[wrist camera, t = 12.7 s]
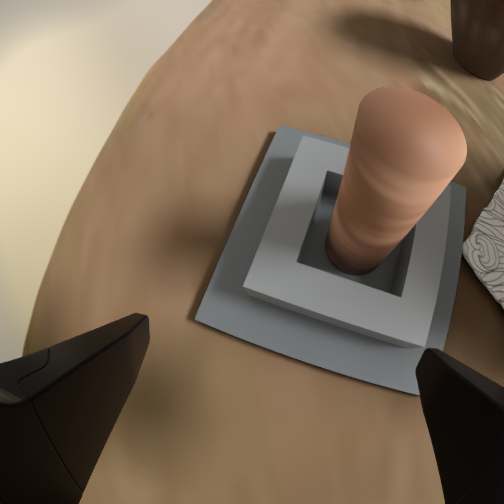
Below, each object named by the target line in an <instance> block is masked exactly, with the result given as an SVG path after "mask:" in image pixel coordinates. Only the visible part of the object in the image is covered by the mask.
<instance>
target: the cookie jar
mask: <svg viewBox="0 0 504 504" xmlns="http://www.w3.org/2000/svg"><path fill="white" fill-rule="evenodd" d="M462 254H463V256H464V258H465V259H466V261H467V262H468V264H469V265H470V266H471V268H472V269H473V271H474V272H475V274H476V276H477V277H478V278H479V280H480V281H481V282H482V283H483V284H484V285H485V287H486V288H487V289H488V290H489V292H490V293H491V294H492V295H493V297H494V298H495V300H496V301H497V302H499V303H500V304H501V306H502V307H503V309H504V179H503V181H502V183H501V185H500V187H499V189H498V190H497V191H496V192H495V193H494V196H493V199H492V200H491V202H490V204H489V205H488V207H485V208H483V210H482V213H481V215H480V216H479V217H478V218H477V219H476V222H475V223H474V226H473V229H472V231H471V234H470V235H469V237H468V239H467V240H466V241H465V242H464V243H463V247H462Z"/></svg>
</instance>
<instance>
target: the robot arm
mask: <svg viewBox="0 0 504 504" xmlns="http://www.w3.org/2000/svg"><path fill="white" fill-rule="evenodd" d="M149 340H150V334H149V318H148V316H147V315H144V314H139V313H134V314H131V315H129V316H126V317H124V318H121V319H119V320H116V321H114V322H111V323H109V324H106V325H104V326H101V327H99V328H96V329H94V330H91V331H89V332H86V333H84V334H81V335H79V336H76V337H74V338H71V339H69V340H66V341H63V342H61V343H58V344H56V345H53V346H51V347H50V348H45V349H43V350H40V351H38V352H35V353H32V354H30V355H27V356H24V357H21V358H17V359H14V360H11V361H8V362H4V363H0V504H79V502H80V500H81V497H82V495H83V492H84V490H85V488H86V485H87V483H88V481H89V479H90V476H91V474H92V472H93V470H94V468H95V465H96V463H97V461H98V459H99V457H100V454H101V452H102V450H103V448H104V446H105V444H106V442H107V439H108V437H109V435H110V433H111V431H112V429H113V427H114V425H115V423H116V421H117V418H118V416H119V414H120V412H121V410H122V408H123V406H124V404H125V402H126V400H127V398H128V396H129V394H130V392H131V390H132V388H133V386H134V384H135V381H136V379H137V376H138V373H139V370H140V367H141V364H142V362H143V359H144V356H145V353H146V351H147V348H148V345H149ZM415 374H416V379H417V384H418V389H419V394H420V399H421V404H422V409H423V413H424V416H425V420H426V423H427V427H428V430H429V434H430V438H431V442H432V445H433V449H434V453H435V457H436V462H437V466H438V470H439V475H440V479H441V484H442V489H443V494H444V500H445V504H504V387H502V386H500V385H499V384H497V383H495V382H493V381H492V380H490V379H488V378H487V377H485V376H483V375H482V374H480V373H478V372H476V371H475V370H473V369H471V368H470V367H468V366H466V365H465V364H463V363H461V362H459V361H458V360H456V359H454V358H453V357H451V356H449V355H447V354H446V353H444V352H442V351H441V350H439V349H437V348H427V349H425V350H424V352H423V354H422V356H421V358H420V360H419V362H418V364H417V367H416V370H415Z"/></svg>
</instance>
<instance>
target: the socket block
mask: <svg viewBox="0 0 504 504" xmlns="http://www.w3.org/2000/svg"><path fill="white" fill-rule="evenodd" d="M349 148H350V144H349V143H346V142H343V141H339V140H336V139H332V138H329V137H325V136H322V135H318V134H314V133H310V132H307V131H303V130H299V129H295V128H290V127H286V126H282V125H279V127H278V129H277V131H276V134H275V136H274V138H273V140H272V142H271V144H270V147H269V149H268V151H267V153H266V155H265V158H264V160H263V162H262V164H261V166H260V169H259V171H258V173H257V175H256V177H255V180H254V182H253V184H252V186H251V189H250V191H249V193H248V195H247V198H246V200H245V202H244V204H243V207H242V209H241V211H240V213H239V216H238V218H237V220H236V223H235V225H234V227H233V229H232V232H231V234H230V236H229V239H228V241H227V243H226V246H225V248H224V250H223V253H222V255H221V257H220V260H219V262H218V264H217V267H216V269H215V271H214V274H213V276H212V278H211V281H210V283H209V285H208V288H207V290H206V293H205V295H204V297H203V300H202V302H201V305H200V307H199V309H198V312H197V314H196V317H195V320H197V321H200V322H202V323H204V324H207V325H209V326H211V327H214V328H216V329H219V330H221V331H224V332H226V333H229V334H231V335H234V336H236V337H239V338H241V339H244V340H246V341H249V342H251V343H254V344H257V345H259V346H262V347H265V348H267V349H270V350H273V351H276V352H278V353H281V354H284V355H287V356H290V357H292V358H295V359H298V360H301V361H304V362H307V363H310V364H313V365H316V366H319V367H322V368H325V369H328V370H331V371H334V372H337V373H341V374H344V375H347V376H350V377H354V378H357V379H360V380H364V381H367V382H371V383H374V384H378V385H381V386H385V387H389V388H392V389H396V390H400V391H404V392H408V393H412V394H416V395H420V394H419V389H418V384H417V379H416V374H415V370H416V367H417V364H418V362H419V360H420V358H421V356H422V354H423V352H424V350H425V349H427V348H437V349H439V350H441V351H442V352H443V349H444V345H445V341H446V337H447V333H448V329H449V324H450V320H451V315H452V311H453V306H454V301H455V295H456V290H457V284H458V277H459V271H460V263H461V256H462V247H463V237H464V225H465V208H466V187H464V186H461V185H459V184H457V183H455V182H452V181H450V183H449V184H448V185H447V187H446V188H445V189H444V190H443V192H442V193H441V194H440V195H439V197H438V198H437V199H436V200H435V202H434V203H433V204H432V205H431V206H430V208H429V209H428V210H427V211H426V212H425V214H424V215H423V216H422V217H421V218H420V220H419V221H418V222H417V223H416V224H415V225H414V227H413V228H412V229H411V230H410V231H409V232H408V234H407V235H406V236H405V237H404V238H403V239H402V240H401V241H400V243H399V244H398V245H397V246H396V247H395V248H394V249H393V250H392V251H391V253H390V254H389V255H388V256H387V257H386V258H385V259H384V260H383V261H382V262H381V263H380V264H379V266H378V267H377V268H376V269H374V270H373V271H372V272H370V273H368V274H365V275H361V276H353V275H348V274H345V273H343V272H341V271H340V270H338V269H337V268H336V267H335V266H334V265H333V264H332V263H331V261H330V260H329V258H328V256H327V253H326V249H325V241H326V236H327V232H328V229H329V225H330V222H331V218H332V215H333V211H334V207H335V204H336V200H337V196H338V192H339V189H340V185H341V181H342V177H343V173H344V169H345V165H346V161H347V157H348V153H349Z"/></svg>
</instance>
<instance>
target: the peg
mask: <svg viewBox="0 0 504 504" xmlns="http://www.w3.org/2000/svg"><path fill="white" fill-rule="evenodd" d="M466 155H467V145H466V140H465V137H464V134H463V132H462V130H461V128H460V126H459V124H458V123H457V121H456V120H455V119H454V117H453V116H452V115H451V114H450V113H449V112H448V111H447V110H446V109H445V108H444V107H443V106H442V105H440V104H439V103H438V102H436V101H435V100H433V99H432V98H430V97H428V96H426V95H424V94H422V93H420V92H417V91H414V90H411V89H407V88H402V87H383V88H379V89H376V90H373V91H372V92H370V93H368V94H367V95H366V96H365V97H364V98H363V99H362V101H361V103H360V105H359V108H358V113H357V117H356V122H355V126H354V131H353V135H352V140H351V144H350V148H349V153H348V157H347V161H346V165H345V169H344V173H343V177H342V181H341V185H340V189H339V192H338V196H337V200H336V204H335V207H334V211H333V215H332V218H331V222H330V225H329V229H328V232H327V236H326V241H325V249H326V253H327V256H328V258H329V260H330V261H331V263H332V264H333V265H334V266H335V267H336V268H337V269H338V270H340V271H341V272H343V273H345V274H348V275H353V276H361V275H365V274H368V273H370V272H372V271H373V270H374V269H376V268H377V267H378V266H379V264H380V263H381V262H382V261H383V260H384V259H385V258H386V257H387V256H388V255H389V254H390V253H391V251H392V250H393V249H394V248H395V247H396V246H397V245H398V244H399V243H400V241H401V240H402V239H403V238H404V237H405V236H406V235H407V234H408V232H409V231H410V230H411V229H412V228H413V227H414V225H415V224H416V223H417V222H418V221H419V220H420V218H421V217H422V216H423V215H424V214H425V212H426V211H427V210H428V209H429V208H430V206H431V205H432V204H433V203H434V202H435V200H436V199H437V198H438V197H439V195H440V194H441V193H442V192H443V190H444V189H445V188H446V187H447V185H448V184H449V183H450V181H451V180H452V179H453V178H454V176H455V175H456V174H457V172H458V171H459V170H460V168H461V167H462V166H463V164H464V162H465V159H466Z"/></svg>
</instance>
